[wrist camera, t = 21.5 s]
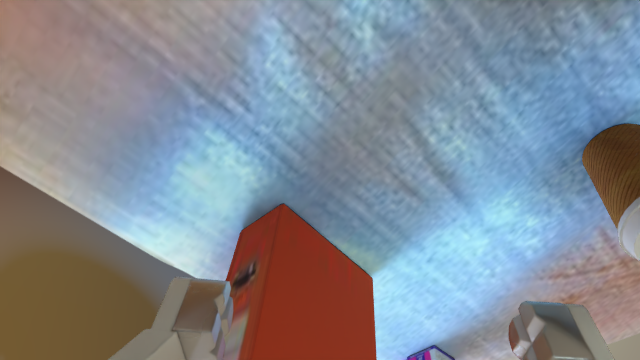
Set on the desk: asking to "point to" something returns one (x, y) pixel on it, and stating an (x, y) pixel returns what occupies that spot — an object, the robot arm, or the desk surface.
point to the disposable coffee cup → (618, 180)
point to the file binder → (297, 296)
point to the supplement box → (431, 355)
